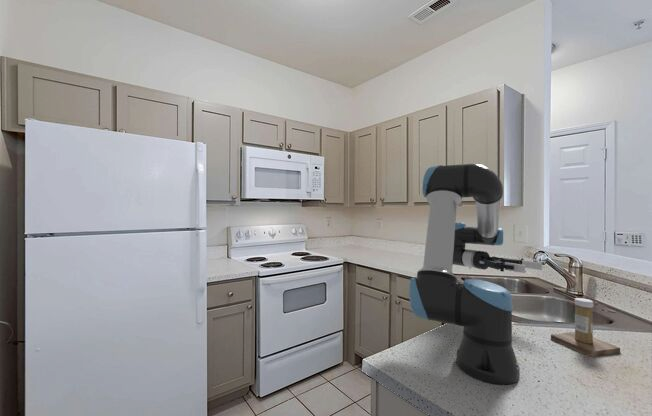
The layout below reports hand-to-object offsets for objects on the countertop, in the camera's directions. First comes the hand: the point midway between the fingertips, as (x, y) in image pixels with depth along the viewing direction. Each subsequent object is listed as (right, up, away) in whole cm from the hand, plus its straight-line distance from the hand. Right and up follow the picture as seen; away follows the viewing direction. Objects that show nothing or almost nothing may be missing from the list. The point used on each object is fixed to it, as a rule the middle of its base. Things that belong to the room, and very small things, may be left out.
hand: (533, 267), depth 104 cm
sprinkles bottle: (+8, -22, -11) cm, 26 cm away
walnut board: (+8, -23, -12) cm, 27 cm away
